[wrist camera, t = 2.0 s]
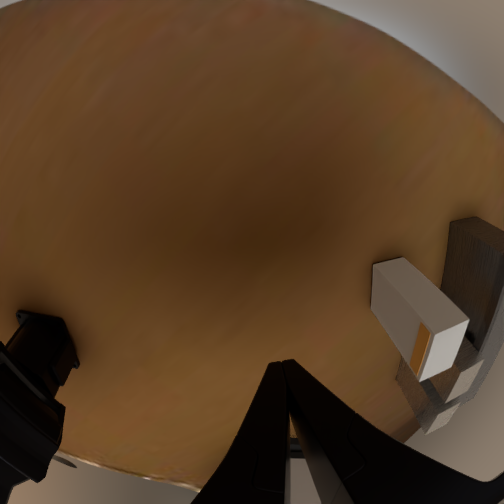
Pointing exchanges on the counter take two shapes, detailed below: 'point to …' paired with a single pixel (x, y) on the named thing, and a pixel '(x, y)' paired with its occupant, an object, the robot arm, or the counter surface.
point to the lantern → (301, 477)
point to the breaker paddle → (417, 317)
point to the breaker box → (478, 329)
